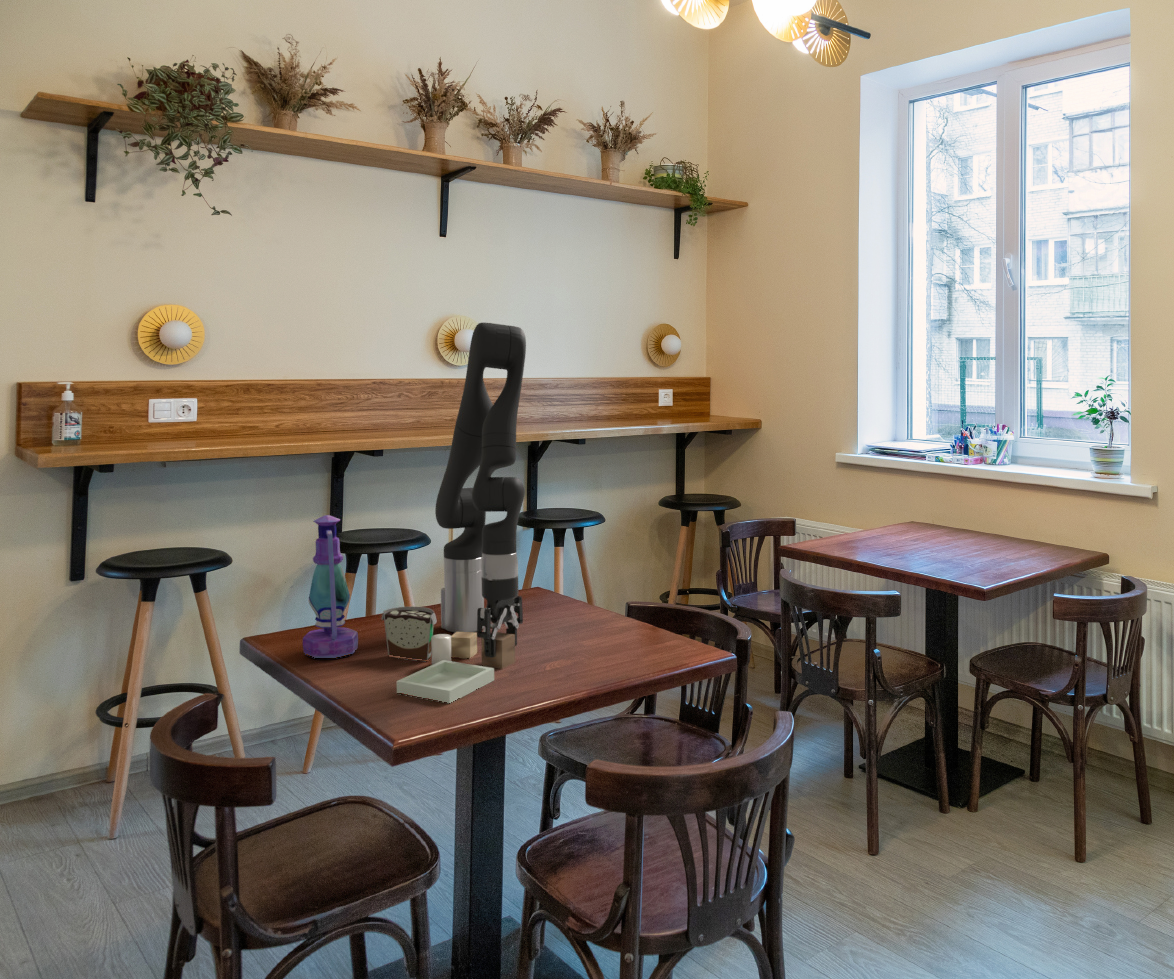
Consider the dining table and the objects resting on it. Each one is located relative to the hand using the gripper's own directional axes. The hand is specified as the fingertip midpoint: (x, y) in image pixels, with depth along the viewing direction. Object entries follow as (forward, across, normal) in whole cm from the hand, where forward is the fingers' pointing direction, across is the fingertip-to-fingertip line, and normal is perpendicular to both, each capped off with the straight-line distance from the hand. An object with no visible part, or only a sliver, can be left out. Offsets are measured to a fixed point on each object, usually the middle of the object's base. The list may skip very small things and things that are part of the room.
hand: (501, 651), depth 195 cm
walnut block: (+3, 0, -1) cm, 3 cm away
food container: (+3, +3, -20) cm, 20 cm away
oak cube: (+3, -2, -11) cm, 11 cm away
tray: (+3, +17, -2) cm, 17 cm away
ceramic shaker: (+3, +6, -11) cm, 12 cm away
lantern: (+3, +10, -37) cm, 38 cm away
